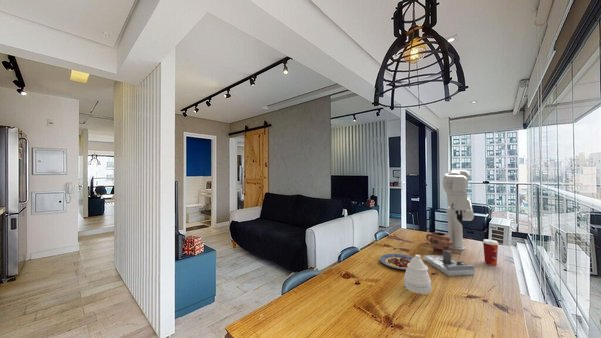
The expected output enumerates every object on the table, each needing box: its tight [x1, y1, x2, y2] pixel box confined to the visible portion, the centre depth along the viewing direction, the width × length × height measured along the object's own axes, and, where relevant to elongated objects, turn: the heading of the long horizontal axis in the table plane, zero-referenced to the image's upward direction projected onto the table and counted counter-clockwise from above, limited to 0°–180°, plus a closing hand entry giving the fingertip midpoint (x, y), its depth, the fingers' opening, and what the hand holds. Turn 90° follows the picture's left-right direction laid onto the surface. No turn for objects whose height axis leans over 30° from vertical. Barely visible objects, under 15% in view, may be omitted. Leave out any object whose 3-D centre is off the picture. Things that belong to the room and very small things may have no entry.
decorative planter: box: [425, 231, 453, 255], centre depth 173 cm, size 20×12×14 cm, turn 31°
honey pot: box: [403, 254, 432, 295], centre depth 121 cm, size 13×13×18 cm
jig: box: [423, 254, 475, 277], centre depth 146 cm, size 24×16×5 cm, turn 4°
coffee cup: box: [482, 238, 499, 266], centre depth 151 cm, size 8×8×15 cm
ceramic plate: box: [379, 253, 414, 270], centre depth 152 cm, size 26×26×3 cm
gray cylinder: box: [442, 250, 452, 264], centre depth 146 cm, size 4×4×10 cm
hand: (459, 220), depth 159 cm, fingers closed
